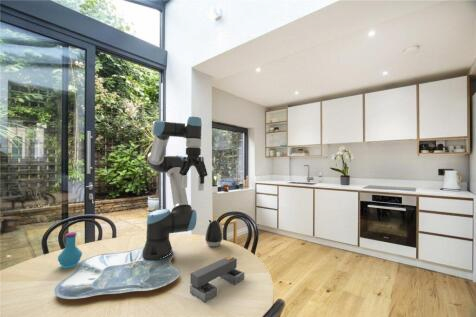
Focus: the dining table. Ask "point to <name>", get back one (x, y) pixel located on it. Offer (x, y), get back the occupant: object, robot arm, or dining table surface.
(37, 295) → the dining table surface
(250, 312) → the dining table surface
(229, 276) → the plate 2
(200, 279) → the grey rectangular bar
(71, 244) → the perfume bottle
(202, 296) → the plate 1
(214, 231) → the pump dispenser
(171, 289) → the dining table surface
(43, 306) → the dining table surface
